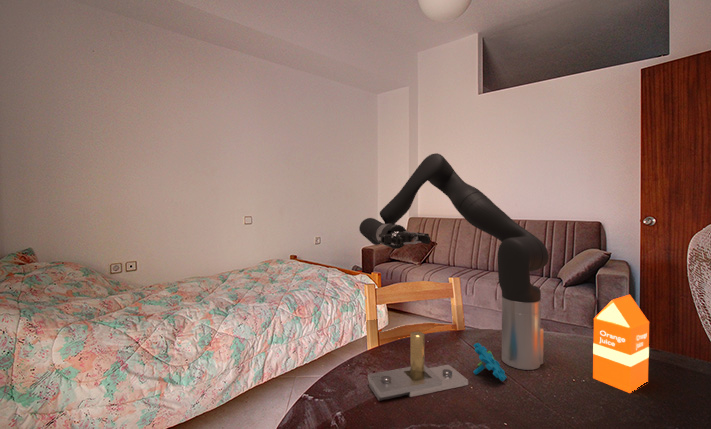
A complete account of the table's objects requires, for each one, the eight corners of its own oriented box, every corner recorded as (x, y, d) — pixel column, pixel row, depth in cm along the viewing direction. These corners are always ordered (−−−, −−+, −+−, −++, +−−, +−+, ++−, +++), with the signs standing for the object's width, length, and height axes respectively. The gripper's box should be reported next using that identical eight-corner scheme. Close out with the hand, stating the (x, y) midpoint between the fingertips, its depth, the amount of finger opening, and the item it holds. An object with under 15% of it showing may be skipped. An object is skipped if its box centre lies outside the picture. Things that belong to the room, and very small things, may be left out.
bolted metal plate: (448, 369, 87) (448, 357, 87) (468, 385, 80) (468, 372, 80) (367, 384, 81) (367, 371, 80) (380, 403, 73) (380, 389, 73)
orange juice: (648, 382, 80) (650, 298, 79) (630, 393, 75) (632, 304, 75) (610, 368, 86) (611, 290, 86) (591, 377, 82) (593, 295, 81)
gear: (508, 383, 77) (476, 346, 80) (488, 399, 78) (457, 361, 82) (508, 368, 87) (479, 335, 90) (491, 382, 88) (463, 349, 92)
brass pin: (420, 380, 82) (420, 330, 82) (426, 386, 79) (426, 336, 79) (408, 382, 81) (408, 332, 81) (414, 389, 78) (414, 337, 78)
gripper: (370, 224, 107) (391, 228, 92) (411, 223, 112) (437, 226, 96) (370, 248, 108) (391, 256, 92) (411, 246, 112) (437, 252, 97)
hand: (415, 241), depth 94 cm, fingers open, 8 cm apart
